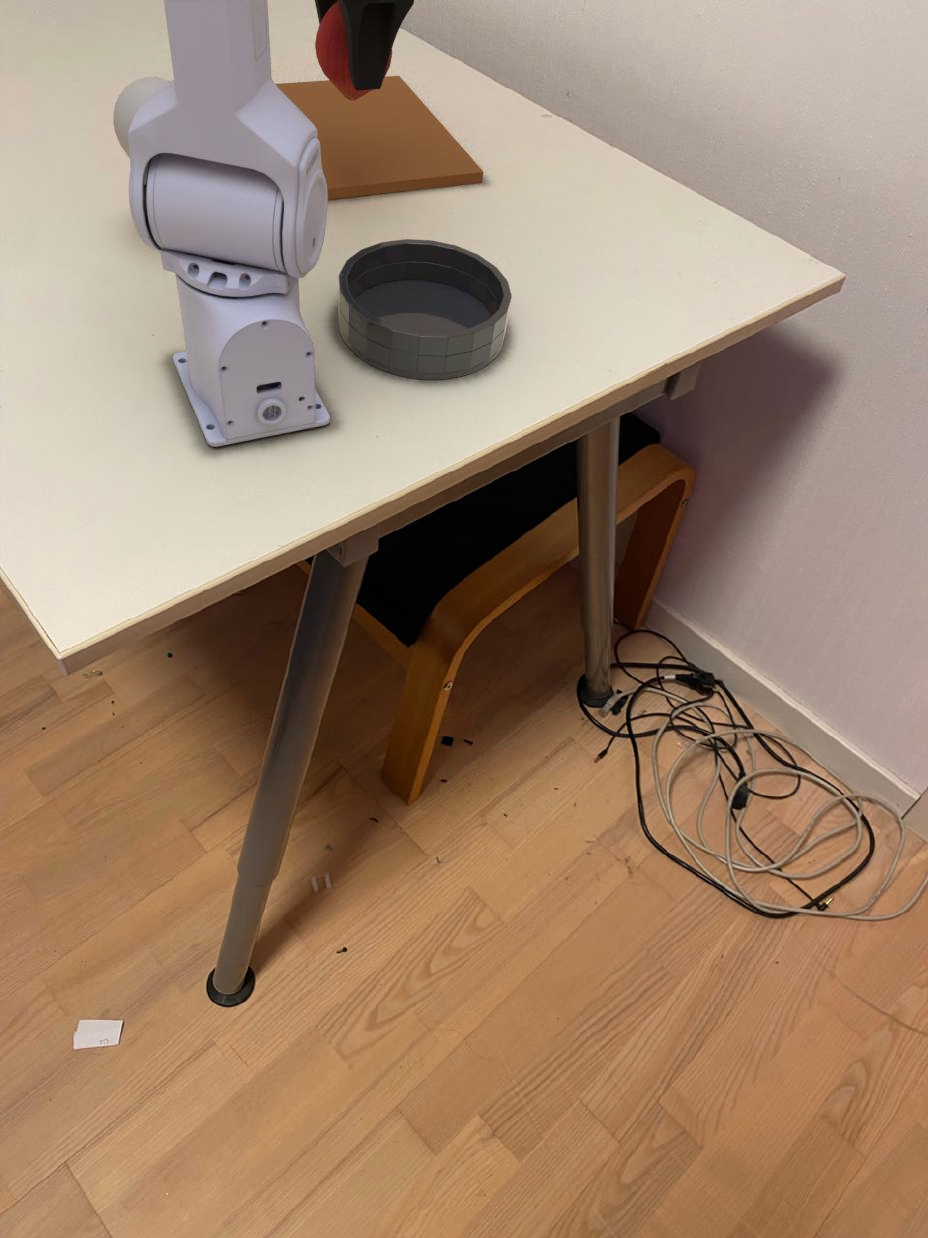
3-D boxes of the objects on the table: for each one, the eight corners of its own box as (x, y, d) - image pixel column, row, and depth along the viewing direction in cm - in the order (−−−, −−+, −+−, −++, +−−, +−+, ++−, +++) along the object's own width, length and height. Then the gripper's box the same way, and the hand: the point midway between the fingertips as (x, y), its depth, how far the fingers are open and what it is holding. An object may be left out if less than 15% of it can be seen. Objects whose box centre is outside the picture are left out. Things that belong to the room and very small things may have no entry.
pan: (531, 363, 67) (540, 321, 64) (374, 393, 62) (376, 349, 60) (462, 271, 73) (467, 230, 70) (315, 293, 69) (315, 250, 66)
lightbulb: (134, 253, 69) (107, 99, 61) (130, 211, 73) (104, 60, 64) (217, 250, 71) (202, 100, 62) (209, 209, 74) (194, 62, 66)
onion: (394, 90, 75) (399, -23, 69) (383, 120, 72) (388, 4, 66) (324, 78, 75) (323, -36, 69) (309, 108, 72) (307, -10, 65)
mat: (482, 182, 82) (483, 171, 82) (311, 201, 77) (311, 189, 76) (398, 85, 93) (399, 74, 92) (243, 96, 88) (242, 85, 87)
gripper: (455, -116, 59) (436, 107, 69) (373, -180, 66) (367, 30, 77) (351, -117, 56) (347, 114, 67) (278, -183, 64) (286, 33, 75)
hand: (352, 70), depth 72 cm, fingers closed on onion, 6 cm apart
